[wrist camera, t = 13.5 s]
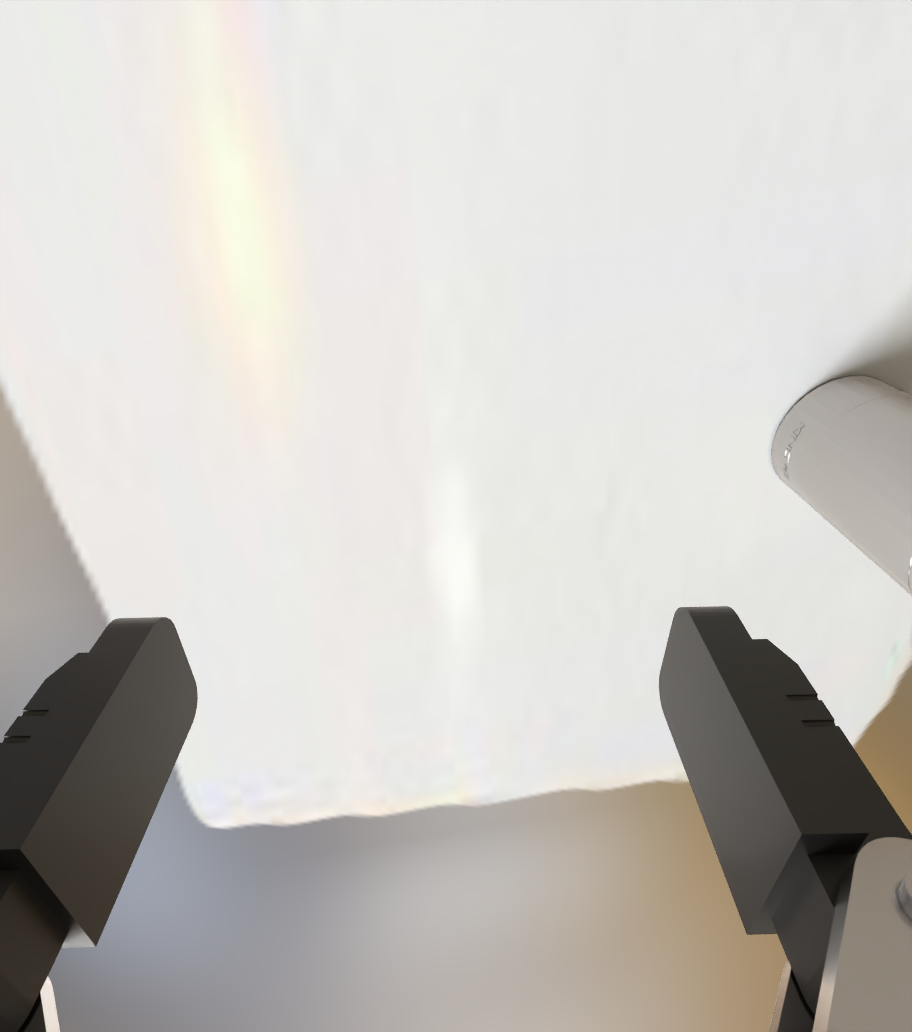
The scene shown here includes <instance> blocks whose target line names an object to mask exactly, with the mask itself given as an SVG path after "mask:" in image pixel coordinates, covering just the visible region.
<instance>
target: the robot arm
mask: <svg viewBox="0 0 912 1032" xmlns="http://www.w3.org/2000/svg"><path fill="white" fill-rule="evenodd" d="M771 455H772V464H773V467H774V469H775V472H776V474H777V475H778V476H779V478H780V479H781V480H782V481H783V482H784V483H785V484H786V485H787V486H789V487H790V488H791V489H792V490H793V491H794V492H795V493H796V494H798V495H799V496H800V497H801V498H802V499H803V500H804V501H805V502H807V503H808V504H809V505H810V506H811V507H812V508H813V509H814V510H815V511H816V512H818V513H819V514H820V515H821V516H822V517H823V518H824V519H825V520H827V521H828V522H829V523H830V524H831V525H832V526H833V527H835V528H836V529H837V530H838V531H839V532H840V533H841V534H842V535H844V536H845V537H846V538H847V539H848V540H849V541H850V542H851V543H853V544H854V545H855V546H856V547H857V548H858V549H859V550H861V551H862V552H863V553H864V554H865V555H866V556H867V557H868V558H870V559H871V560H872V561H873V562H874V563H875V564H876V565H878V566H879V567H880V568H881V569H882V570H883V571H884V572H885V573H887V574H888V575H889V576H890V577H891V578H892V579H893V580H894V581H896V582H897V583H898V584H899V585H900V586H901V587H902V588H904V589H905V590H906V591H907V592H908V593H909V594H910V595H911V596H912V394H910V393H908V392H902V391H900V390H898V389H896V388H894V387H892V386H890V385H888V384H886V383H884V382H881V381H879V380H877V379H875V378H872V377H866V376H848V377H844V378H840V379H836V380H833V381H831V382H828V383H826V384H824V385H822V386H819V387H818V388H816V389H815V390H813V391H812V392H810V393H809V394H807V395H806V396H805V397H803V398H802V399H801V400H800V401H799V402H798V403H797V404H795V405H794V407H793V408H792V409H791V410H790V411H789V413H788V414H787V415H786V416H785V418H784V419H783V421H782V423H781V424H780V426H779V428H778V430H777V432H776V435H775V438H774V440H773V445H772V452H771ZM659 692H660V700H661V705H662V709H663V712H664V715H665V718H666V721H667V723H668V726H669V729H670V731H671V734H672V737H673V739H674V742H675V745H676V747H677V750H678V753H679V755H680V758H681V761H682V763H683V766H684V769H685V771H686V774H687V777H688V779H689V782H690V784H691V787H692V790H693V792H694V795H695V798H696V800H697V803H698V806H699V808H700V811H701V814H702V816H703V819H704V822H705V824H706V827H707V829H708V832H709V835H710V837H711V840H712V843H713V846H714V848H715V851H716V854H717V856H718V859H719V862H720V864H721V867H722V870H723V872H724V875H725V878H726V880H727V883H728V885H729V888H730V891H731V893H732V896H733V898H734V901H735V904H736V907H737V909H738V912H739V915H740V917H741V920H742V922H743V925H744V928H745V930H746V933H747V935H751V934H778V937H779V939H780V942H781V944H782V946H783V949H784V951H785V954H786V956H787V959H788V960H787V962H786V964H785V967H784V970H783V973H782V978H781V982H780V986H779V991H778V995H777V999H776V1004H775V1008H774V1012H773V1017H772V1021H771V1025H770V1030H769V1032H912V835H911V833H910V832H909V830H908V829H907V828H906V826H905V825H904V823H903V822H902V820H901V819H900V817H899V816H898V814H897V813H896V812H895V810H894V809H893V807H892V805H891V804H890V802H889V801H888V800H887V798H886V796H885V795H884V793H883V792H882V790H881V789H880V787H879V786H878V785H877V783H876V781H875V780H874V779H873V777H872V775H871V774H870V772H869V771H868V769H867V768H866V766H865V765H864V763H863V762H862V760H861V759H860V757H859V756H858V754H857V753H856V751H855V750H854V748H853V747H852V745H851V744H850V742H849V741H848V739H847V738H846V736H845V735H844V733H843V732H842V730H841V729H840V727H839V726H835V724H834V718H833V717H832V715H831V714H830V712H829V711H828V709H827V708H826V706H825V705H824V703H823V702H822V700H818V698H817V695H818V694H817V693H816V691H815V690H814V688H813V687H812V685H811V684H810V682H809V681H808V679H807V678H806V676H805V675H804V673H803V672H802V670H801V669H800V667H799V666H798V664H797V663H796V662H794V661H793V660H792V659H791V658H790V657H788V656H787V655H786V654H785V653H783V652H782V651H781V650H780V649H779V648H777V647H776V646H775V645H774V644H773V643H771V642H770V641H769V640H768V639H752V638H751V637H750V635H749V634H748V632H747V630H746V629H745V627H744V625H743V624H742V622H741V620H740V619H739V617H738V615H737V614H736V613H735V611H734V610H733V609H732V608H730V607H727V606H720V607H681V608H678V609H677V611H676V612H675V614H674V618H673V622H672V626H671V630H670V634H669V638H668V642H667V646H666V650H665V654H664V659H663V663H662V667H661V671H660V677H659ZM196 708H197V686H196V682H195V679H194V676H193V674H192V671H191V668H190V665H189V663H188V660H187V657H186V655H185V652H184V649H183V647H182V644H181V641H180V639H179V636H178V633H177V631H176V628H175V626H174V624H173V622H172V621H171V620H170V619H169V618H165V617H158V618H119V619H115V620H113V621H112V622H111V623H110V624H109V625H108V626H107V627H106V629H105V630H104V631H103V633H102V635H101V636H100V637H99V639H98V640H97V642H96V643H95V645H94V646H93V647H92V649H91V650H90V652H89V653H78V654H76V655H75V656H74V657H73V658H71V659H70V660H69V661H68V662H66V663H65V664H64V665H63V666H62V667H60V668H59V669H58V670H57V671H55V672H54V673H53V674H52V675H50V676H49V677H48V678H47V679H46V680H45V681H44V682H43V684H42V685H41V686H40V688H39V689H38V690H37V692H36V693H35V694H34V696H33V697H32V698H31V700H30V701H29V703H28V704H27V705H26V707H25V708H24V709H23V715H22V716H18V717H17V719H16V720H15V722H14V723H13V724H12V726H11V727H10V728H9V730H8V731H7V733H6V734H5V735H4V741H3V743H0V1032H60V1028H59V1022H58V1016H57V1010H56V1004H55V998H54V993H53V987H52V984H51V980H50V979H49V977H48V974H49V972H50V970H51V968H52V966H53V964H54V962H55V959H56V957H57V955H58V953H59V951H60V949H61V947H96V945H97V943H98V940H99V938H100V936H101V934H102V931H103V929H104V927H105V924H106V922H107V920H108V918H109V915H110V913H111V910H112V908H113V906H114V904H115V901H116V899H117V897H118V894H119V892H120V890H121V887H122V885H123V883H124V881H125V878H126V876H127V873H128V871H129V869H130V867H131V864H132V862H133V860H134V857H135V855H136V853H137V850H138V848H139V846H140V843H141V841H142V839H143V837H144V834H145V832H146V829H147V827H148V825H149V823H150V820H151V818H152V816H153V813H154V811H155V809H156V806H157V804H158V801H159V799H160V797H161V795H162V792H163V790H164V788H165V785H166V783H167V781H168V779H169V776H170V774H171V772H172V769H173V767H174V765H175V762H176V760H177V758H178V755H179V753H180V751H181V749H182V746H183V744H184V742H185V739H186V737H187V735H188V732H189V730H190V728H191V725H192V723H193V720H194V717H195V713H196Z"/></svg>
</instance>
